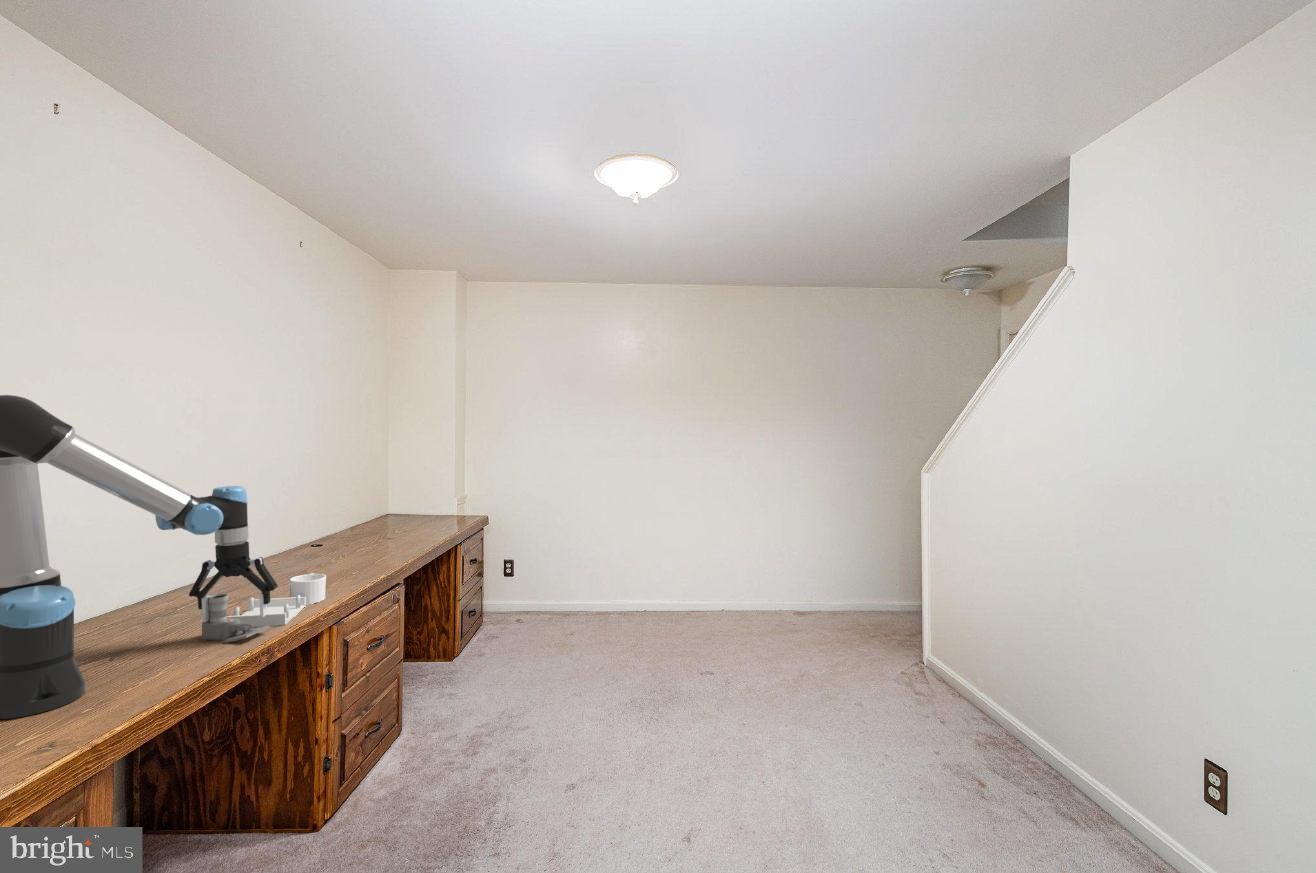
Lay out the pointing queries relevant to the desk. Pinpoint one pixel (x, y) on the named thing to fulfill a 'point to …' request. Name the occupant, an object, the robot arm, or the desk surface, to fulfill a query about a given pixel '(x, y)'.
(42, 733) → the desk surface
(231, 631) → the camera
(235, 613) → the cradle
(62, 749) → the desk surface
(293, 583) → the mug
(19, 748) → the desk surface
